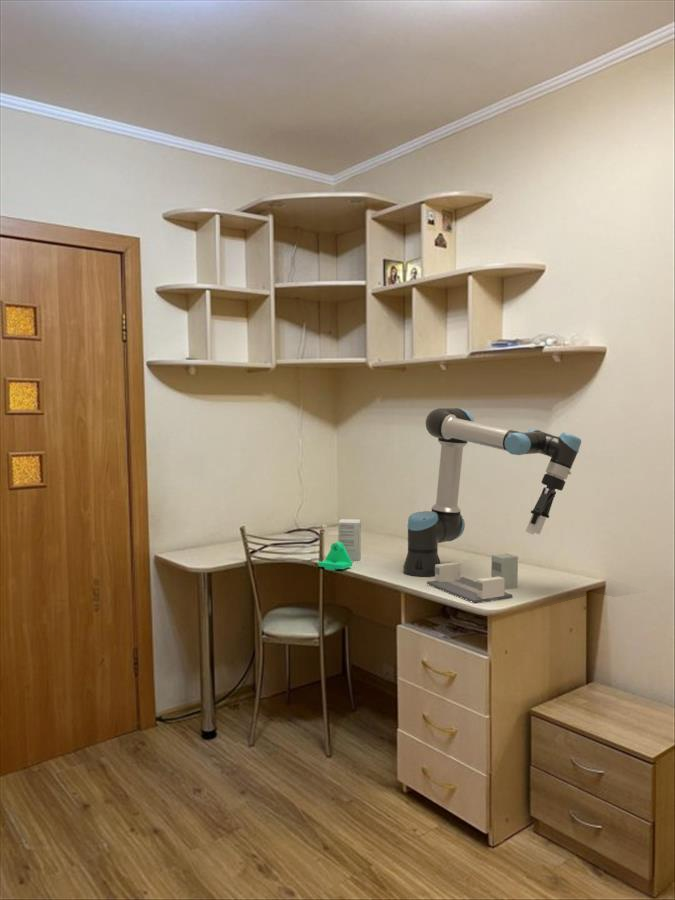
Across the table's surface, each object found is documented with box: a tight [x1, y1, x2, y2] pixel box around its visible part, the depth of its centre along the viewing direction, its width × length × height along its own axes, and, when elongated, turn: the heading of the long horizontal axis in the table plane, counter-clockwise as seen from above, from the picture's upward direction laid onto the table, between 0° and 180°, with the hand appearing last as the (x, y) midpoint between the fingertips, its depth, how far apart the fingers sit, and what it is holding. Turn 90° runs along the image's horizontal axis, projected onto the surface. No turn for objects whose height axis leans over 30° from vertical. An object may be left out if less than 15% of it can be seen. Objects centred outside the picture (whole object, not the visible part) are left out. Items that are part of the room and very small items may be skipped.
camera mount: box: [317, 541, 353, 572], centre depth 277 cm, size 12×8×10 cm, turn 59°
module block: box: [490, 553, 519, 589], centre depth 248 cm, size 6×7×11 cm
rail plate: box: [426, 562, 514, 604], centre depth 241 cm, size 28×16×7 cm, turn 26°
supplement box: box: [337, 518, 362, 562], centre depth 293 cm, size 10×9×17 cm
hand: (532, 533), depth 240 cm, fingers open, 13 cm apart
